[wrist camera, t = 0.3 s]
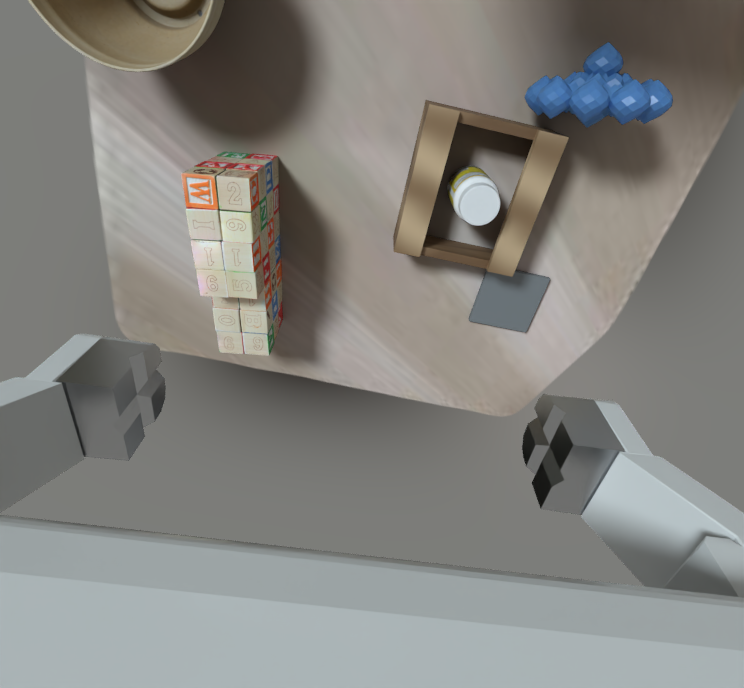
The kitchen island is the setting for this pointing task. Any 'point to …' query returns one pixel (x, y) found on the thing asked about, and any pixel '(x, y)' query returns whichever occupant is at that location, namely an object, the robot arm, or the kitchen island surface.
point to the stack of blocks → (238, 247)
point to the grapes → (600, 92)
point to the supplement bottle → (473, 195)
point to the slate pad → (508, 300)
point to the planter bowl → (132, 29)
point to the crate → (428, 176)
